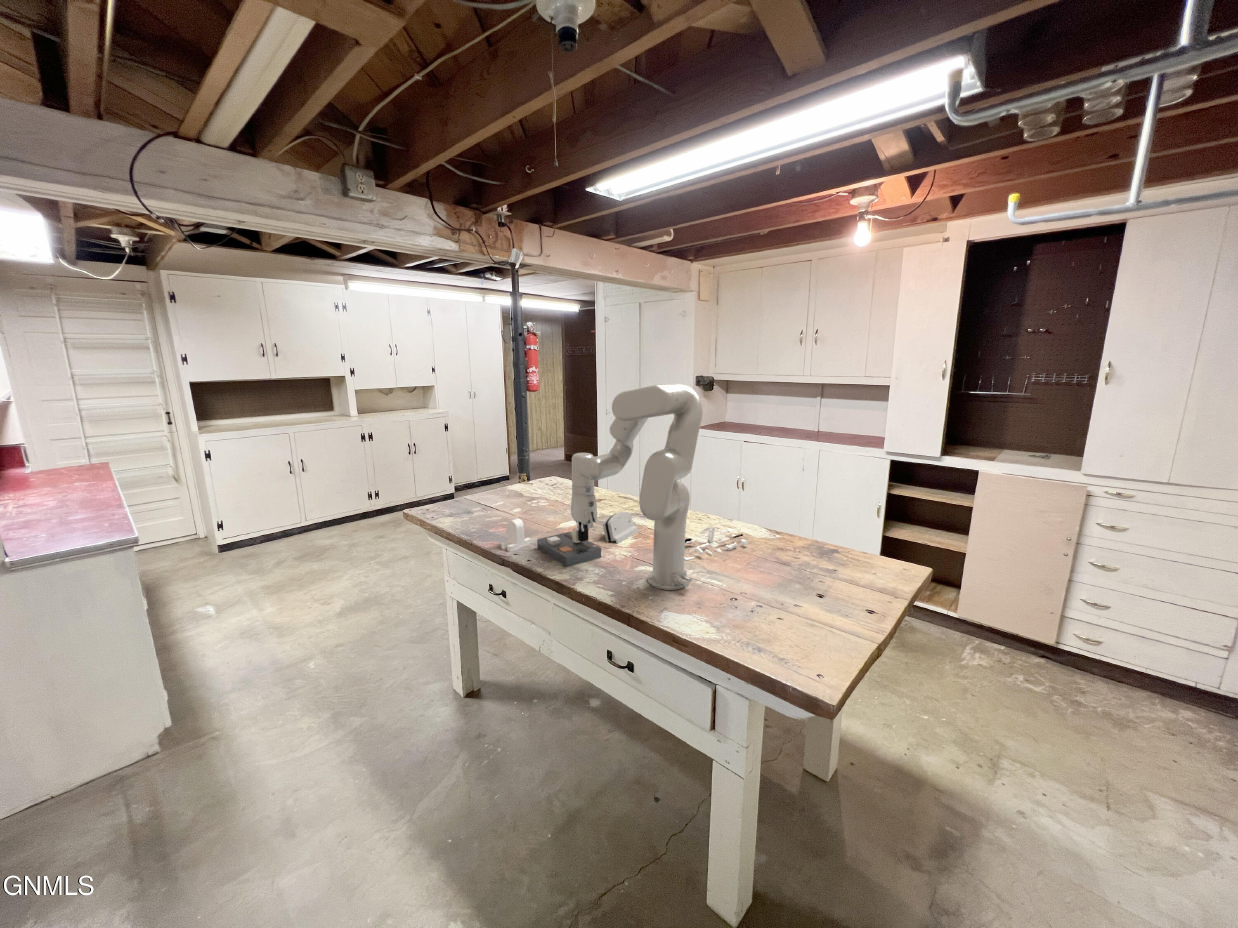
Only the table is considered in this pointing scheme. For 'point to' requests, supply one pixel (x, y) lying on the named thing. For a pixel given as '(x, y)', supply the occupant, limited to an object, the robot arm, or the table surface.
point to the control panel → (578, 555)
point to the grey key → (553, 540)
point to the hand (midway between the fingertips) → (583, 540)
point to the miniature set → (710, 538)
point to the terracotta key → (565, 549)
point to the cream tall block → (575, 535)
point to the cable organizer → (515, 536)
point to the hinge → (619, 527)
